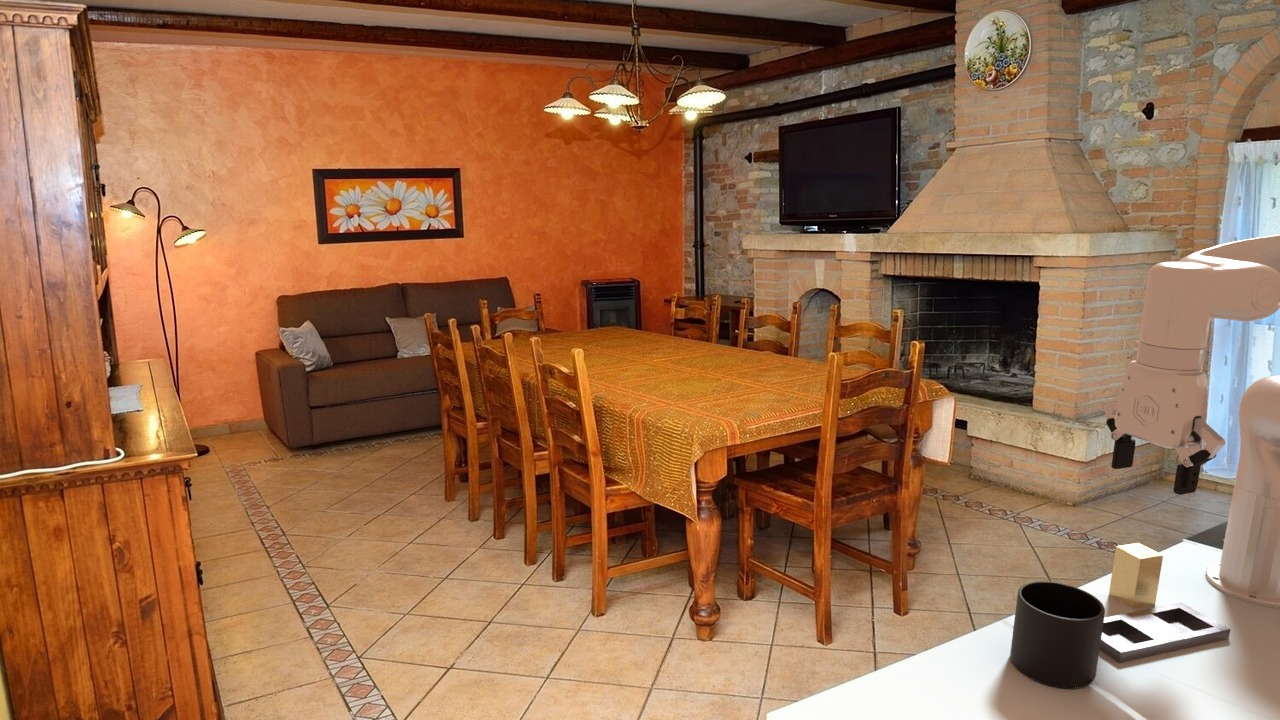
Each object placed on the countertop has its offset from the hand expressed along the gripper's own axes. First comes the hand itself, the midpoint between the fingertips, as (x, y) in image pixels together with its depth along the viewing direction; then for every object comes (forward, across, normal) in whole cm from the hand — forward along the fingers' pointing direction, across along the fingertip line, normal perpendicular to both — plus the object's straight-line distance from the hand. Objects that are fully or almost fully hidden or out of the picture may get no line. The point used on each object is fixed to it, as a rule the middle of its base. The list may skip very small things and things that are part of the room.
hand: (1151, 479), depth 114 cm
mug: (+18, +9, -22) cm, 30 cm away
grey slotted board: (+18, +8, -6) cm, 21 cm away
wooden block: (+18, 0, 0) cm, 18 cm away
